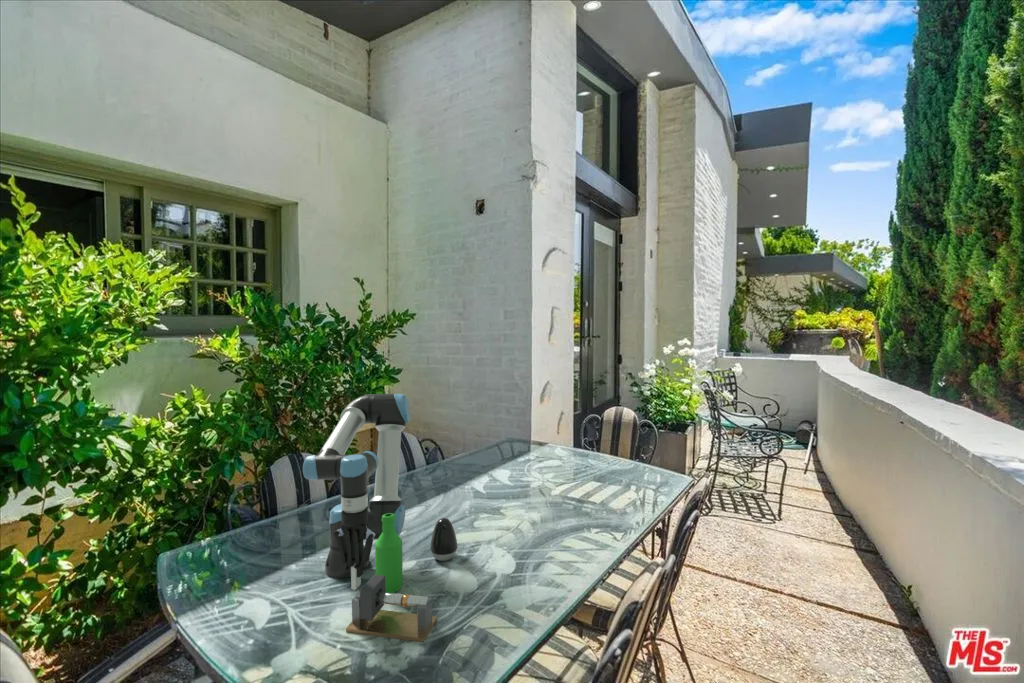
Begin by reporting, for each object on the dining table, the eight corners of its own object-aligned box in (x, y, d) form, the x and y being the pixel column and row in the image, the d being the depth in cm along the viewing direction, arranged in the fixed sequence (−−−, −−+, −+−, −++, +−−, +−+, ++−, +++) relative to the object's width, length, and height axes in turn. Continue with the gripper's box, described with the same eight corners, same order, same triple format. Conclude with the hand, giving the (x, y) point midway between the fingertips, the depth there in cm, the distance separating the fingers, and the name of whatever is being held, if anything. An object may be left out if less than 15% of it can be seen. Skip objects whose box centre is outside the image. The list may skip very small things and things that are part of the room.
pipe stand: (345, 631, 130) (345, 599, 130) (364, 610, 140) (363, 580, 140) (423, 642, 125) (423, 608, 125) (436, 619, 135) (436, 588, 135)
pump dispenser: (432, 566, 166) (431, 525, 166) (429, 553, 176) (428, 514, 176) (459, 562, 169) (458, 522, 169) (455, 549, 179) (454, 511, 179)
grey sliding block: (360, 618, 130) (359, 589, 130) (374, 601, 138) (374, 574, 138) (371, 620, 129) (371, 591, 129) (385, 602, 138) (385, 575, 138)
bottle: (405, 580, 157) (404, 509, 156) (399, 595, 148) (398, 519, 148) (379, 581, 157) (378, 510, 156) (372, 596, 148) (371, 520, 148)
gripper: (327, 511, 132) (329, 591, 133) (367, 514, 129) (369, 596, 130) (342, 502, 139) (343, 577, 140) (380, 505, 137) (382, 582, 137)
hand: (356, 586), depth 135 cm, fingers closed
